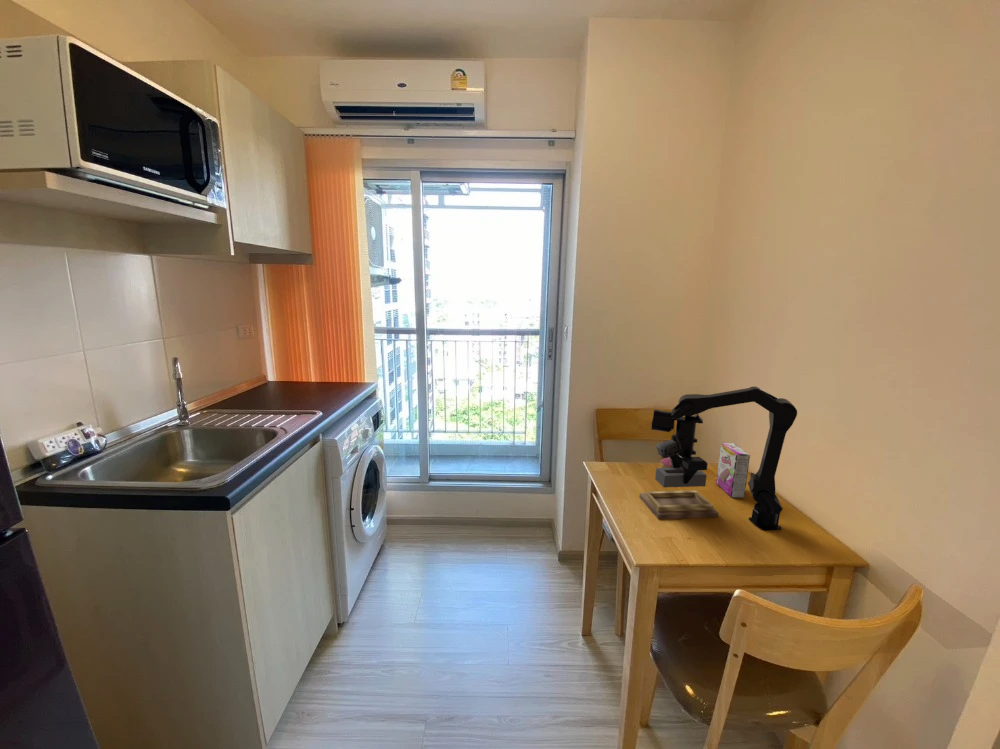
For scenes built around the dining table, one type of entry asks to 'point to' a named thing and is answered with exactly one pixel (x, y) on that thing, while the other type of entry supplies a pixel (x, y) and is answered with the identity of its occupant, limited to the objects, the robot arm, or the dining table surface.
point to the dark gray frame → (679, 478)
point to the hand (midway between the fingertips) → (680, 479)
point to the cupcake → (666, 463)
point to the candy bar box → (732, 470)
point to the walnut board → (678, 504)
